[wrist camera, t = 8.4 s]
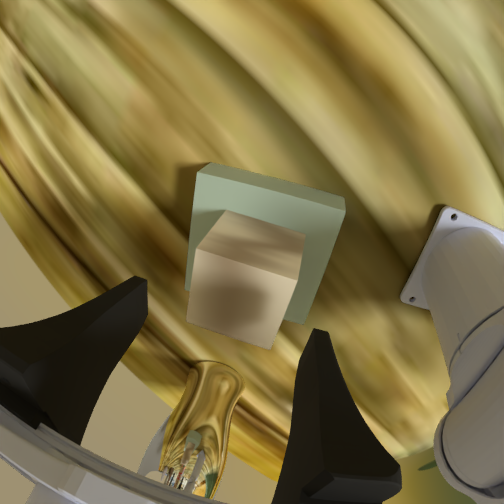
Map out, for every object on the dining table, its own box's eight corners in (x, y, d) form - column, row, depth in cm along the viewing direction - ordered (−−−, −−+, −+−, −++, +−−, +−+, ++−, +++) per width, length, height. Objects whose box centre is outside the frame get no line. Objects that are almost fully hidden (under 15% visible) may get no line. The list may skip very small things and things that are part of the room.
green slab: (343, 194, 20) (346, 211, 18) (307, 299, 25) (303, 324, 22) (213, 160, 21) (197, 171, 19) (198, 268, 26) (184, 289, 23)
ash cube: (305, 234, 19) (297, 280, 15) (283, 297, 22) (270, 349, 17) (226, 209, 19) (196, 248, 15) (213, 274, 22) (185, 321, 18)
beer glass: (177, 377, 33) (122, 491, 21) (200, 347, 30) (136, 483, 17) (231, 406, 34) (191, 521, 21) (262, 380, 30) (222, 518, 18)
